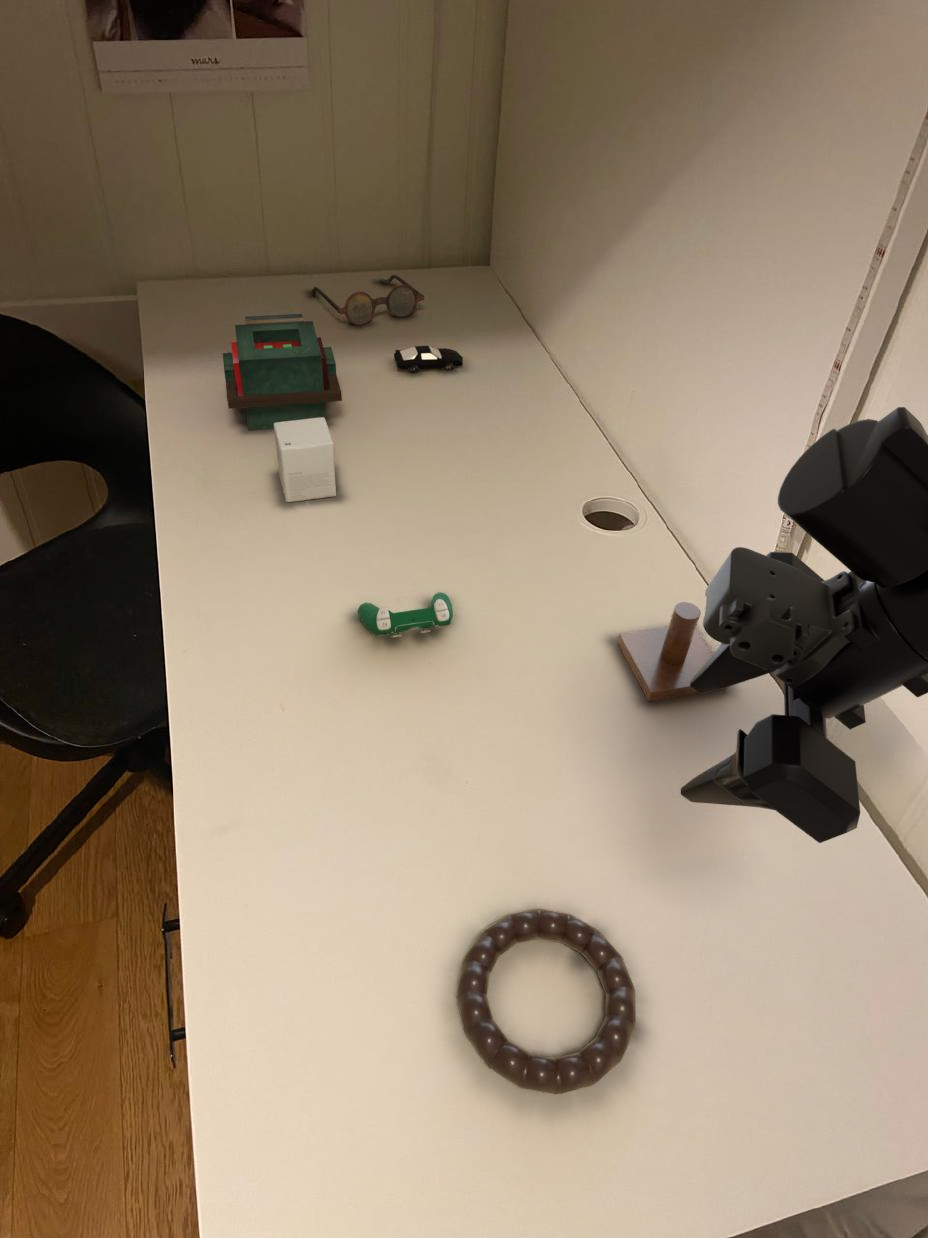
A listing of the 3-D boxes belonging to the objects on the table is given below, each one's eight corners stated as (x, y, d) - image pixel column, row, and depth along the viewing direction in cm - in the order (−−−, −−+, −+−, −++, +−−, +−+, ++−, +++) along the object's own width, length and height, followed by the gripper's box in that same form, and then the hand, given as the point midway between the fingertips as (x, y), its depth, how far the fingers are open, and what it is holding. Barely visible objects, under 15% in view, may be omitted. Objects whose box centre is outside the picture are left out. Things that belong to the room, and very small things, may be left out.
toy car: (459, 357, 127) (460, 340, 125) (465, 370, 124) (466, 352, 122) (393, 361, 125) (393, 344, 123) (398, 374, 122) (398, 357, 120)
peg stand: (689, 631, 85) (707, 577, 80) (726, 688, 80) (747, 634, 75) (616, 641, 84) (630, 587, 79) (648, 701, 78) (665, 647, 73)
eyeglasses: (340, 329, 132) (339, 297, 128) (306, 293, 141) (303, 262, 137) (424, 314, 137) (424, 283, 134) (385, 280, 146) (385, 251, 143)
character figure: (339, 313, 120) (360, 380, 106) (295, 390, 126) (309, 463, 112) (247, 263, 112) (257, 328, 98) (205, 347, 118) (208, 420, 104)
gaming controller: (361, 641, 84) (368, 641, 78) (355, 604, 84) (362, 601, 78) (450, 628, 86) (463, 627, 80) (444, 591, 86) (457, 588, 80)
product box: (337, 497, 99) (334, 443, 94) (285, 504, 97) (279, 449, 92) (328, 469, 103) (325, 416, 98) (278, 475, 102) (272, 421, 97)
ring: (595, 903, 63) (600, 890, 62) (660, 1071, 55) (667, 1060, 53) (440, 937, 60) (440, 923, 59) (483, 1118, 52) (485, 1108, 51)
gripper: (800, 434, 49) (616, 577, 59) (813, 652, 35) (572, 788, 46) (925, 548, 51) (728, 665, 62) (981, 790, 38) (718, 889, 48)
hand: (690, 738), depth 54 cm, fingers open, 9 cm apart
